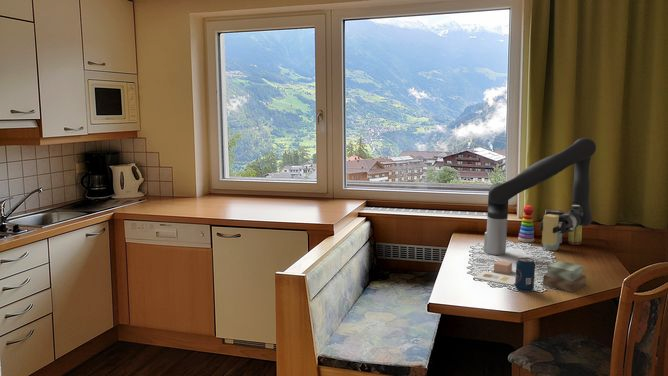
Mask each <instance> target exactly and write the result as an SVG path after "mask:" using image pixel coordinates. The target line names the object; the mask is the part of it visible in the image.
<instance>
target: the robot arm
mask: <svg viewBox="0 0 668 376" xmlns="http://www.w3.org/2000/svg"><path fill="white" fill-rule="evenodd" d="M596 151H597V144H596V143H595V141H594V140H592V139H591V138H588V137H581V138H578V139H576V140H575V141H574V142H573V144H572V145H570V146H568V147H567V148H565V149H564V150H562V151H560V152H557V153H555V154H551V155H549V156H547V157H544V158H542V159H540V160H538V161H536V162H534V163H533V164H530V165H529V166H528V167H526V168H524V169H523V170H522V171H521V172H520V173H518V174H517V175H516V176H514V177H513V178H511V179H509V180H507V181H505V182H502V183H501V182H496V183H494V184H492V185H491V186H490V187H489V189H488V195H487V196H488V197H487V198H488V199H487V217H486V219H487V220H486V231H485V232H484V241H483V242H484V243H483V252H484V253H487V254H488V255H493V256H495V255H496V256H502V255H505V254H506V253H507V252H506V251H507V233H508V220H509V219H508V217H509V216H508V215H509V201H510V199H512V198H514V197H516V196H517V195H518V194H520V193H522V192H524V191H527V190H529V189H531V188H533V187H535V186H537V185H540V184H542V183H543V182H545V181H547V180H549V179H551V178H553V177H555V176H556V175H557V174H559V173H561V172H563V170H565V169H567V168H568V167H570V166H572V165H574V166H573V167H574V171H573V172H574V173H573V174H574V175H573V182H572V183H573V185H572V194H571V195H572V197H571V198H572V199H571V202H572V204H573V205H579V206H580V210H577V209H572V208H571V209H569V210H568V211H567V213H564V214H563V215H560V216H559V221H558V227H554V228H553V233H556V232H558V233H563V234H565V233H569V232H573V228H576V227H577V226H579V225H581V226H582V227H588V226H590V225H591V223H592V221H593V214H592V210H591V205H590V193H591V192H590V188H591V187H590V185H591V183H590V164H591V160H592V156H593V155H595V153H596ZM539 225H540V226H539V230H540V231H541V232H543V221H542V220H541V222H540V223H539Z"/></svg>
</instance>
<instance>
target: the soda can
mask: <svg viewBox="0 0 668 376" xmlns="http://www.w3.org/2000/svg"><path fill="white" fill-rule="evenodd" d="M515 265H516V267H515V277H516V278H515V284H514V286H515V288H516V290H517V291H520V292H523V293H524V292H525V293H526V292H527V293H528V292H532V291H533V290H534V287H535V276H536V275H535V274H536V262H535V260H534V259H533V258H531V257H523V256H522V257H519V258H518V260H517V261H516V263H515Z"/></svg>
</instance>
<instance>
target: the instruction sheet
mask: <svg viewBox="0 0 668 376" xmlns="http://www.w3.org/2000/svg"><path fill="white" fill-rule="evenodd" d="M473 278H474V279H477V280H482V281H487V282H493V283H498V284H501V285H502V284H503V285H506V286H507V285H508V286H515V278H516V275H515V276H514V275H509V274H508V275H507V274H501V273H495V272H494V271H492V272H491V271H487V270H482V271H481V272H480V273H478V274H477V275H475V276H473Z"/></svg>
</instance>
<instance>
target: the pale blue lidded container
mask: <svg viewBox="0 0 668 376" xmlns="http://www.w3.org/2000/svg"><path fill="white" fill-rule="evenodd" d="M547 214H551V215H558V216H560V215H563V214H565V211H564V210H560V209H559V210H558V209H549V208H548V209H547V208H545V213H544V215H547ZM563 234H564V233H562V236H561V239H560V243H559V244H562V243H563Z"/></svg>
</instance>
